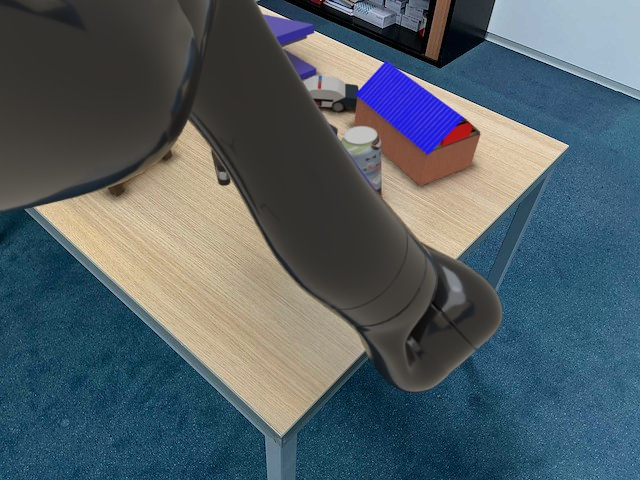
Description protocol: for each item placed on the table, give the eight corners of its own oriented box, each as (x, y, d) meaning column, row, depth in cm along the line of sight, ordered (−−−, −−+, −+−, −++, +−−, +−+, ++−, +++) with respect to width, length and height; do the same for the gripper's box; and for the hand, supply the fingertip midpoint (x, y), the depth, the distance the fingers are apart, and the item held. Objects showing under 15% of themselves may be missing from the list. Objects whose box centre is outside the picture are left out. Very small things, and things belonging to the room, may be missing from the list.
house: (402, 110, 106) (412, 53, 97) (473, 166, 94) (492, 107, 86) (351, 126, 101) (358, 67, 92) (419, 187, 89) (434, 127, 81)
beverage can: (374, 215, 84) (385, 152, 75) (329, 203, 85) (335, 140, 77) (384, 191, 88) (396, 128, 80) (341, 180, 90) (348, 117, 81)
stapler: (277, 89, 108) (277, 42, 101) (197, 37, 122) (192, -8, 115) (319, 72, 114) (322, 26, 107) (239, 24, 128) (236, -19, 121)
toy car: (277, 94, 107) (277, 70, 104) (358, 99, 107) (361, 76, 104) (274, 107, 104) (274, 84, 100) (358, 113, 104) (361, 90, 100)
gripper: (385, 143, 51) (295, 63, 61) (245, 189, 45) (171, 92, 55) (375, 204, 56) (294, 121, 66) (249, 252, 50) (181, 153, 60)
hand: (238, 109), depth 60 cm, fingers closed on planter, 4 cm apart
